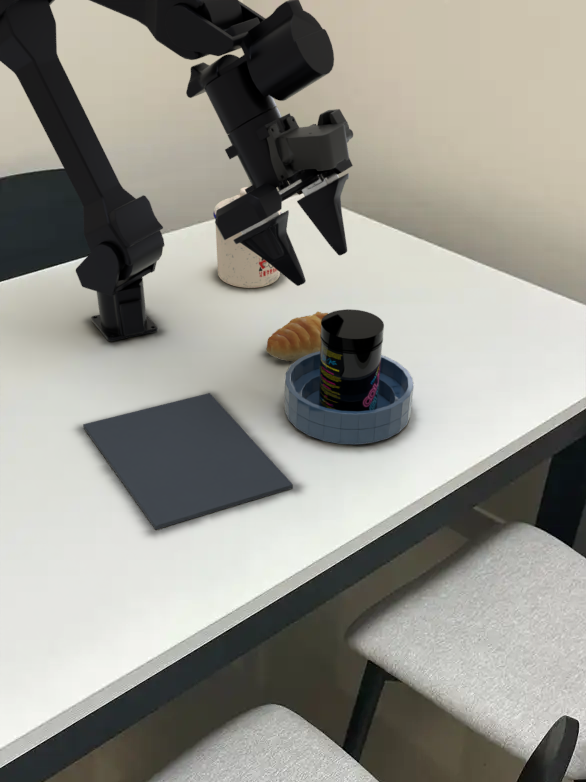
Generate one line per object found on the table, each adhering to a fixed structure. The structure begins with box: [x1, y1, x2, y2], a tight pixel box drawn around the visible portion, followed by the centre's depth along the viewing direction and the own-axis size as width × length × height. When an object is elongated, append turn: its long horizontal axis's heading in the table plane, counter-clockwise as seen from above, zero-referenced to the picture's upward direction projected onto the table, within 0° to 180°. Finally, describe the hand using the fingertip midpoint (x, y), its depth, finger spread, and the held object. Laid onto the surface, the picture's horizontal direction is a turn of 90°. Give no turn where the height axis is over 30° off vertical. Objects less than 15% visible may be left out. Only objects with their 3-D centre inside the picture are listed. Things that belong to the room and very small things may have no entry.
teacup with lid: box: [212, 186, 283, 289], centre depth 131 cm, size 12×9×12 cm
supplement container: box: [319, 309, 385, 411], centre depth 105 cm, size 7×7×10 cm
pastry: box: [265, 311, 329, 363], centre depth 118 cm, size 9×7×4 cm
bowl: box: [284, 351, 415, 445], centre depth 108 cm, size 14×14×4 cm
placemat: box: [82, 392, 294, 530], centre depth 101 cm, size 20×15×1 cm
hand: (323, 268), depth 103 cm, fingers open, 9 cm apart
